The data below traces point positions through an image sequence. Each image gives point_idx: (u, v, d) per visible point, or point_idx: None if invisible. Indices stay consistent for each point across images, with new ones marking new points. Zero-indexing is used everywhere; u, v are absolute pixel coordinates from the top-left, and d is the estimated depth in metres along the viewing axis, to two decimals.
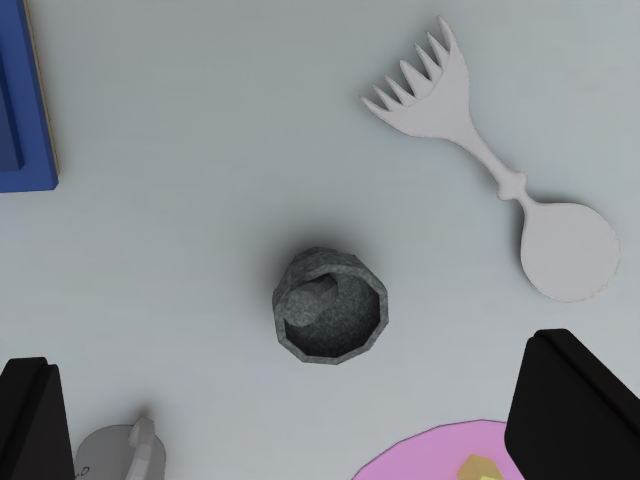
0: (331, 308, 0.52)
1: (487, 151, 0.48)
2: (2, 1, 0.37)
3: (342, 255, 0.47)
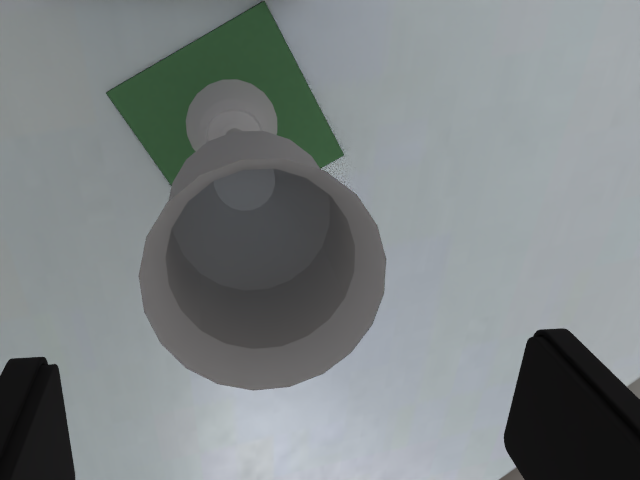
0: None
1: None
2: None
3: None
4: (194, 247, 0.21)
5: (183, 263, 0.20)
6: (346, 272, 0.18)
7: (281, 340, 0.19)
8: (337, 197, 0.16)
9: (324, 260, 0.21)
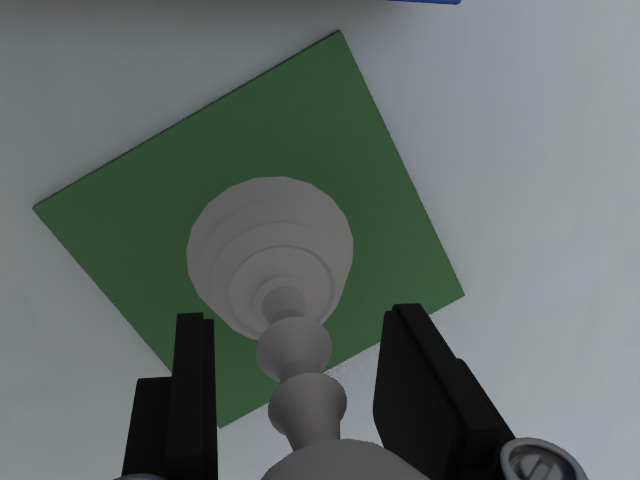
0: None
1: None
2: None
3: None
4: None
5: None
6: None
7: None
8: None
9: None
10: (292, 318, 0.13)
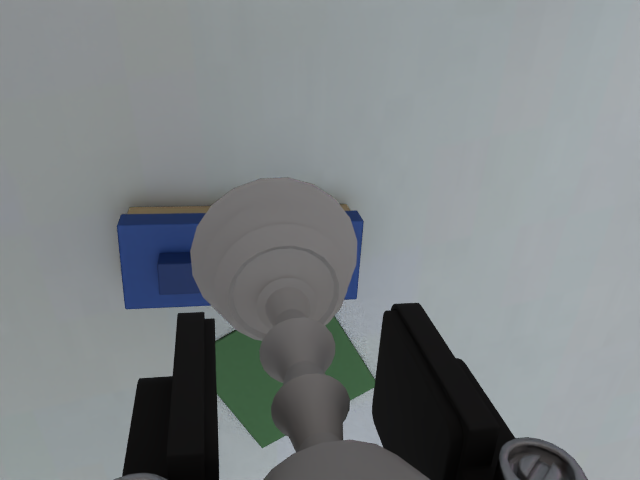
0: None
1: None
2: (121, 240, 0.30)
3: None
4: None
5: None
6: None
7: None
8: None
9: None
10: (295, 319, 0.13)
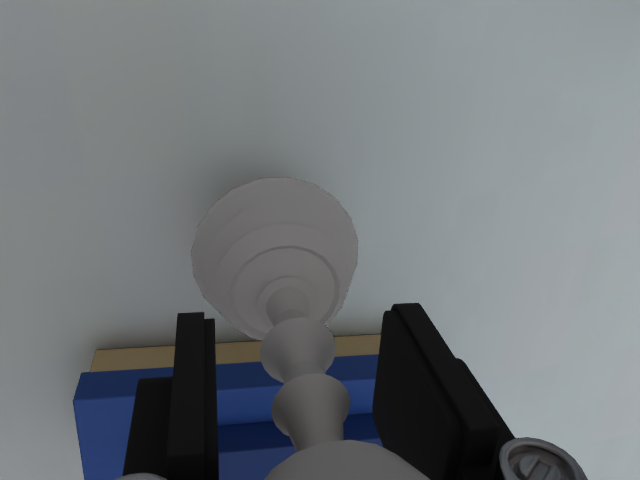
0: None
1: None
2: (79, 419, 0.20)
3: None
4: None
5: None
6: None
7: None
8: None
9: None
10: (296, 319, 0.13)
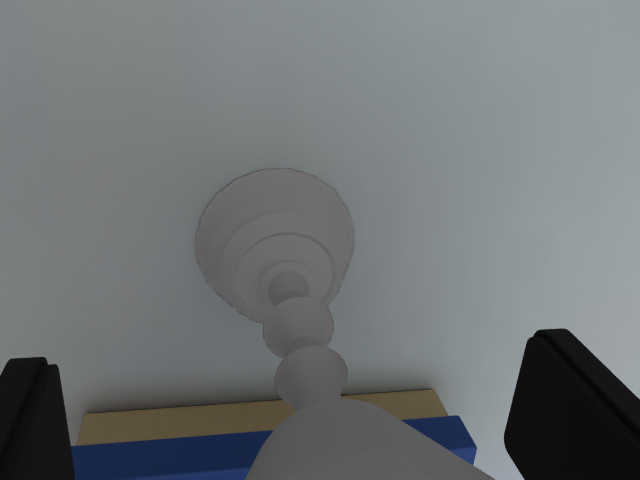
0: None
1: None
2: None
3: None
4: None
5: None
6: None
7: None
8: None
9: None
10: (297, 298, 0.14)
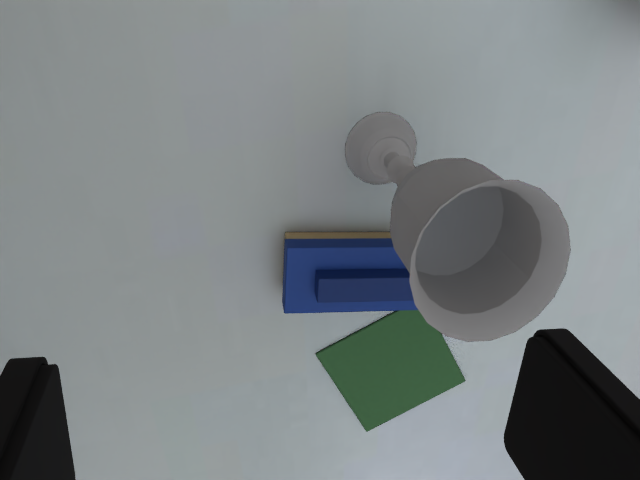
0: None
1: None
2: (288, 259, 0.38)
3: None
4: None
5: (399, 253, 0.27)
6: (528, 260, 0.25)
7: (479, 308, 0.26)
8: (537, 206, 0.23)
9: (499, 253, 0.28)
10: (401, 156, 0.35)
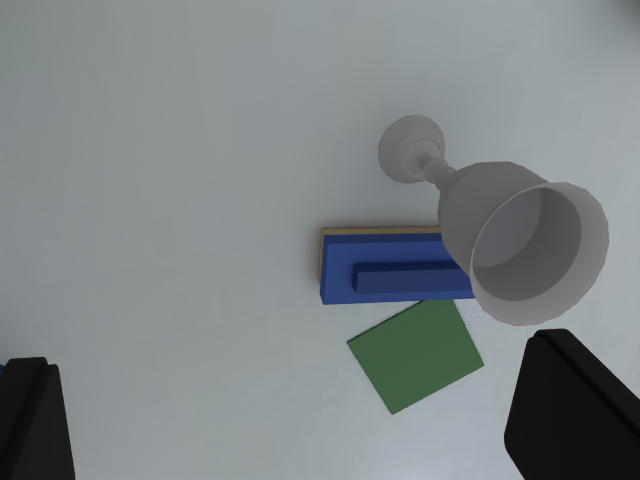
0: None
1: None
2: (329, 254, 0.41)
3: None
4: None
5: None
6: (568, 253, 0.28)
7: (523, 296, 0.29)
8: (580, 205, 0.26)
9: (537, 247, 0.31)
10: (436, 157, 0.38)
